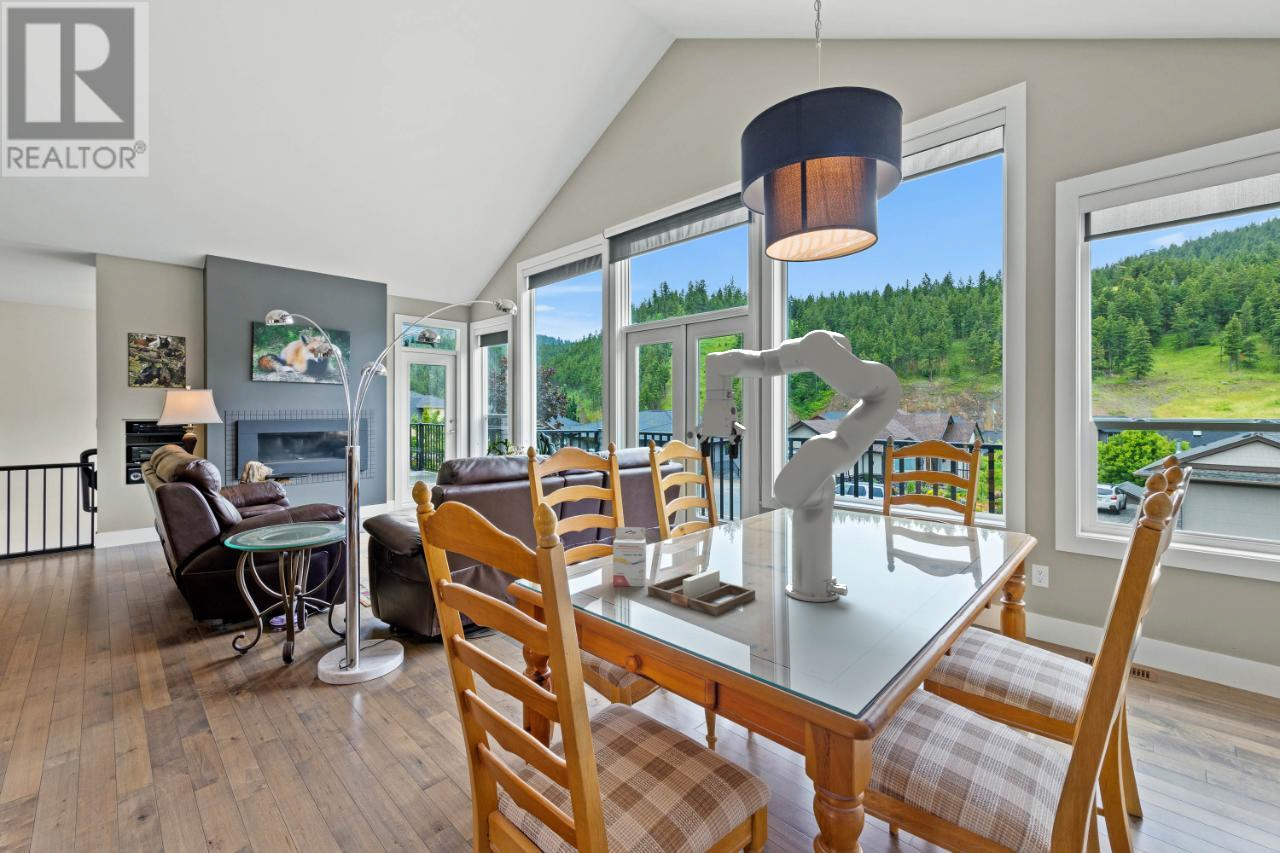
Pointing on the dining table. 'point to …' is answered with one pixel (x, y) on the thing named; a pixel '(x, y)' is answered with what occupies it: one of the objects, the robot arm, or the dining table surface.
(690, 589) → the panel
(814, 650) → the dining table surface
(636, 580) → the ink cartridge box
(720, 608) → the rack
